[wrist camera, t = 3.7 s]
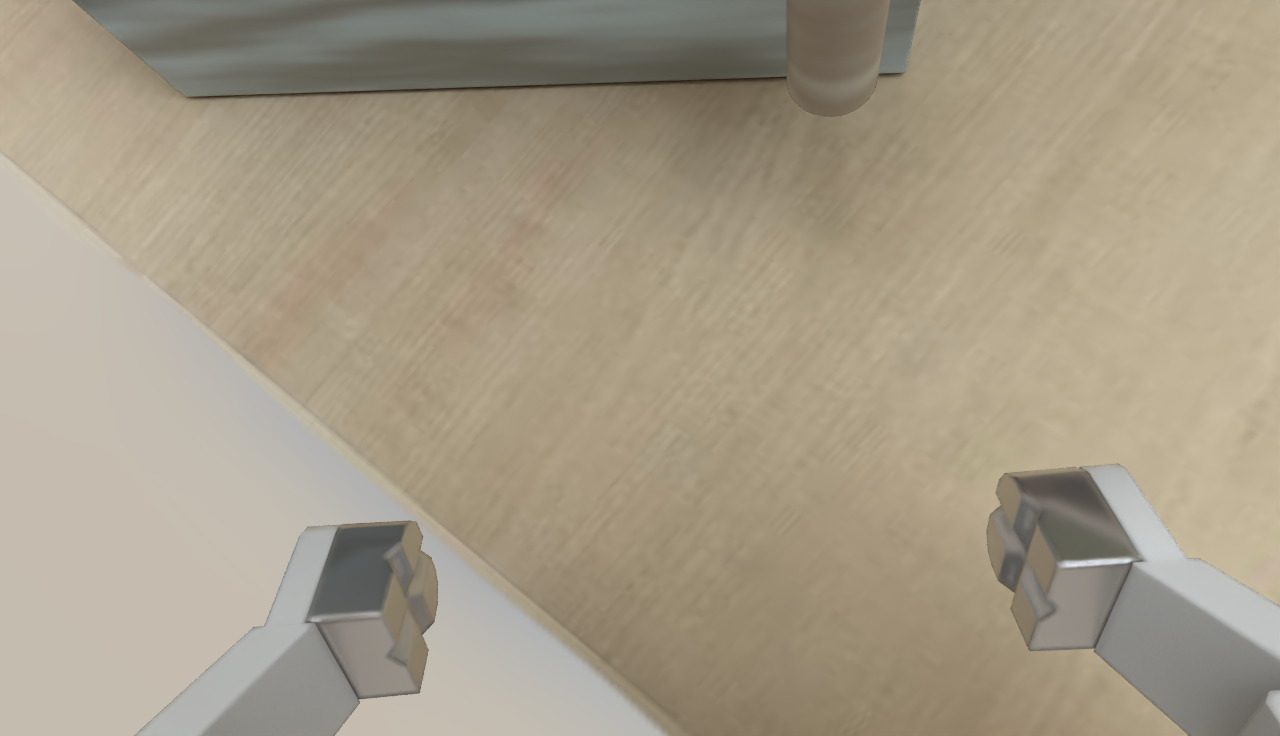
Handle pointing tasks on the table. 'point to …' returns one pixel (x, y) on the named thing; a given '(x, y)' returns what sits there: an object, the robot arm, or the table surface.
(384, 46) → the cupboard door
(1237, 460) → the table surface
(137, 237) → the table surface
